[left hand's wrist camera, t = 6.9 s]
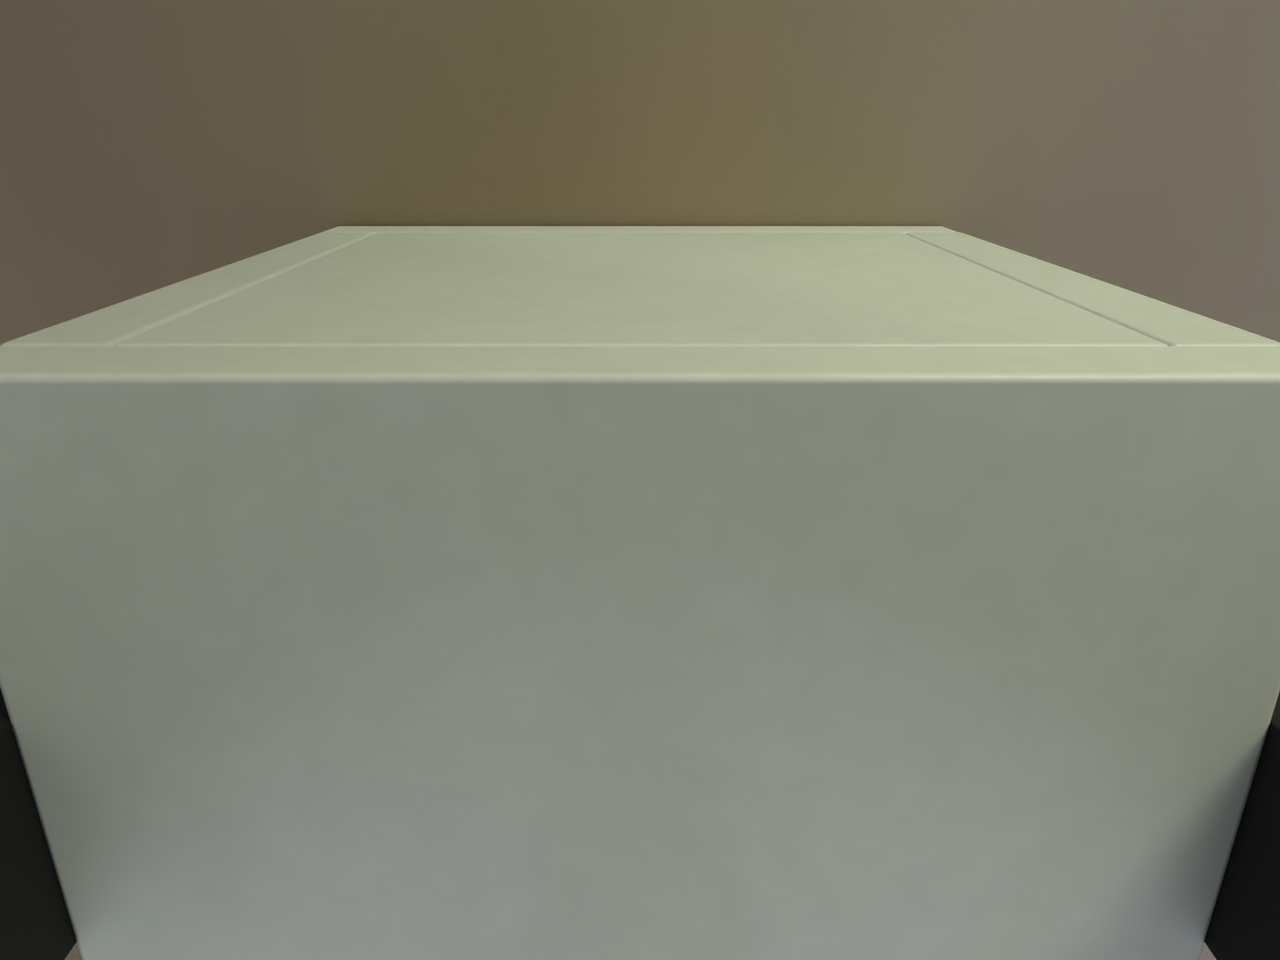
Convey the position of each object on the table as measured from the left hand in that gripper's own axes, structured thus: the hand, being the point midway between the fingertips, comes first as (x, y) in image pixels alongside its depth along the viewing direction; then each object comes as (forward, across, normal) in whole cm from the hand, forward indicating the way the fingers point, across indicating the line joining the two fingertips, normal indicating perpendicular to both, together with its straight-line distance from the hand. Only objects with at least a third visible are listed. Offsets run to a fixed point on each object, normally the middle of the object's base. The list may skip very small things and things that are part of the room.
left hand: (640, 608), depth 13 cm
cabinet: (+7, 0, -5) cm, 8 cm away
